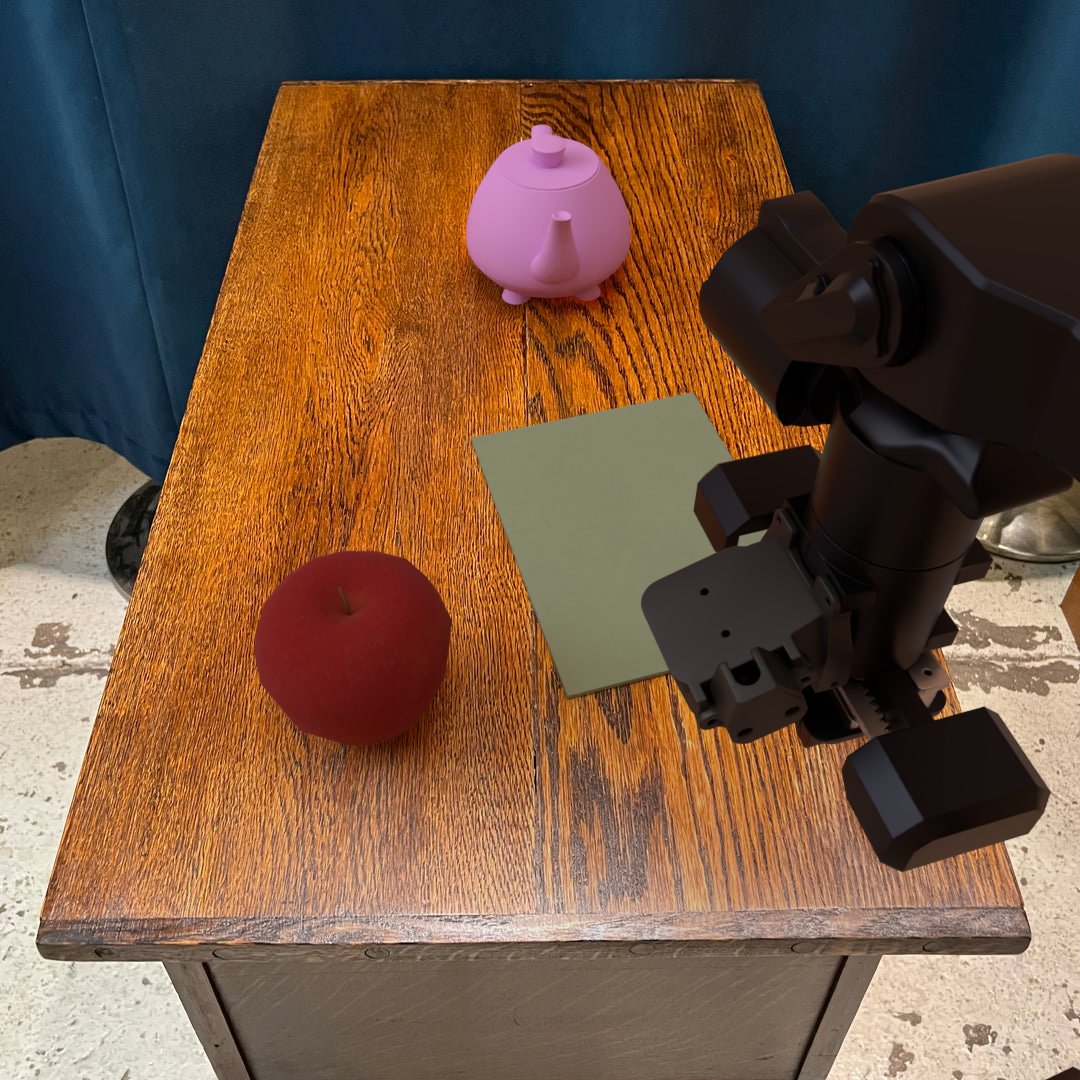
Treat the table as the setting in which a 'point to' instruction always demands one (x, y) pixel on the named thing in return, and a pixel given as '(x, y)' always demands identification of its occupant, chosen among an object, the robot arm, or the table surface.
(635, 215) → the table surface
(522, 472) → the mat
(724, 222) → the table surface
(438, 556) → the table surface
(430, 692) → the apple
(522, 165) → the teapot
